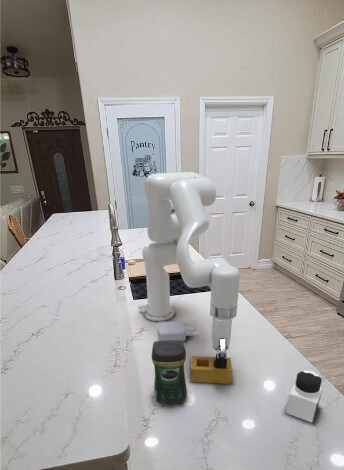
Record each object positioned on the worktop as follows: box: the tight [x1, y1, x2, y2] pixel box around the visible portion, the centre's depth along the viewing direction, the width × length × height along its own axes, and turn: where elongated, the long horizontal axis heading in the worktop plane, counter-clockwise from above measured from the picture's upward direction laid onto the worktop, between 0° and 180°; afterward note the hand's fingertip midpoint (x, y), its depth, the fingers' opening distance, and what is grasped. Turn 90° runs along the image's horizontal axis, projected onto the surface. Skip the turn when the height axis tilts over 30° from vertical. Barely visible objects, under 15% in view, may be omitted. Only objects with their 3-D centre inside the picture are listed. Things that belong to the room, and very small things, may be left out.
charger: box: [158, 320, 200, 342], centre depth 126 cm, size 5×9×15 cm
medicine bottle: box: [285, 370, 324, 423], centre depth 88 cm, size 7×7×12 cm
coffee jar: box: [151, 340, 188, 405], centre depth 93 cm, size 10×8×19 cm
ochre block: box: [190, 355, 233, 385], centre depth 104 cm, size 12×7×5 cm, turn 85°
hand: (220, 358), depth 102 cm, fingers open, 9 cm apart
